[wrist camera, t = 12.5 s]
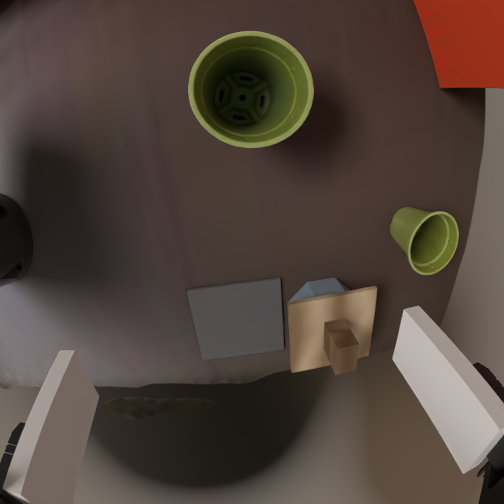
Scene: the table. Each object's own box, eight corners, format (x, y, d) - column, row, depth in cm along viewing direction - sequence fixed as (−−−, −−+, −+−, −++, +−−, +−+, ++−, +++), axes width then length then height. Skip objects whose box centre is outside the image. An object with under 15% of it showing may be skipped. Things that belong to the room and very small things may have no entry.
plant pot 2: (371, 217, 45) (399, 237, 37) (416, 184, 44) (449, 199, 36) (392, 261, 49) (419, 287, 41) (433, 230, 47) (464, 250, 39)
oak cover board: (290, 369, 47) (300, 400, 41) (287, 301, 42) (299, 332, 36) (366, 352, 48) (382, 380, 42) (374, 285, 43) (396, 311, 36)
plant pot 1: (299, 126, 39) (328, 128, 28) (213, 153, 39) (212, 165, 29) (272, 44, 34) (292, 19, 24) (183, 71, 34) (171, 52, 24)
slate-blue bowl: (288, 340, 52) (296, 363, 47) (286, 284, 48) (295, 305, 42) (349, 328, 53) (361, 350, 48) (353, 274, 49) (369, 293, 43)
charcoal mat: (202, 358, 52) (202, 359, 51) (186, 289, 46) (186, 290, 46) (283, 347, 53) (283, 349, 52) (279, 277, 47) (280, 278, 47)
